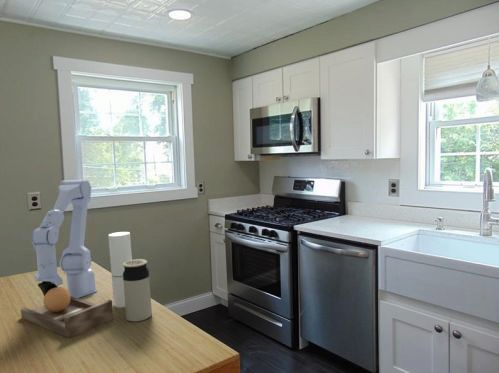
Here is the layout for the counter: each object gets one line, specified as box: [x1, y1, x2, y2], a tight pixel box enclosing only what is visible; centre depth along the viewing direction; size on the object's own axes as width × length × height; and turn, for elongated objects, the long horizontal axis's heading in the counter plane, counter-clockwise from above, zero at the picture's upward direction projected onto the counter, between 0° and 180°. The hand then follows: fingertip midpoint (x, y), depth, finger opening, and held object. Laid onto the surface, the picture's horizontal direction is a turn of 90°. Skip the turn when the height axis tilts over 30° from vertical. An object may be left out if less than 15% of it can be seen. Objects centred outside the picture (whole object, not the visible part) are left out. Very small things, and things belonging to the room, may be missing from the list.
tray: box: [20, 296, 114, 339], centre depth 124 cm, size 15×28×6 cm, turn 55°
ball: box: [43, 286, 71, 312], centre depth 126 cm, size 8×8×8 cm
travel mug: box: [123, 258, 153, 322], centre depth 122 cm, size 8×8×18 cm
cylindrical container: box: [107, 231, 133, 308], centre depth 133 cm, size 7×7×25 cm
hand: (50, 302), depth 129 cm, fingers closed
